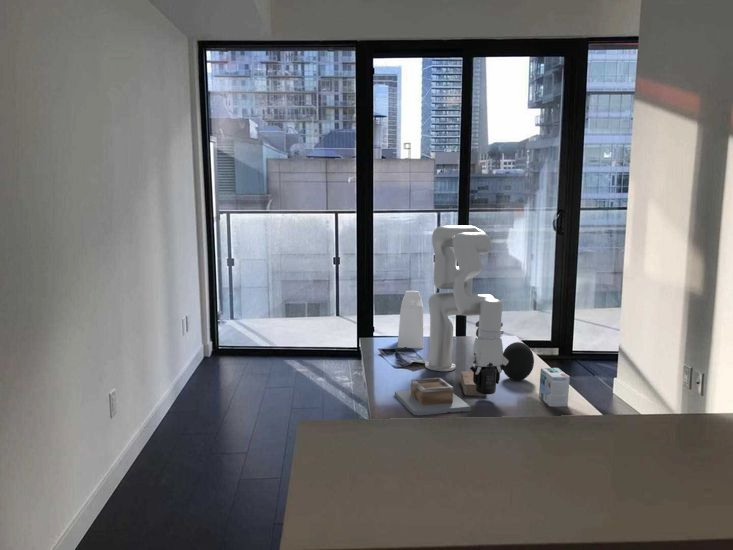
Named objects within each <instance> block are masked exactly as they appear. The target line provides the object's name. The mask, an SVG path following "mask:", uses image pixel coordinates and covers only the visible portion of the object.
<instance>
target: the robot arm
mask: <svg viewBox="0 0 733 550" xmlns="http://www.w3.org/2000/svg"><path fill="white" fill-rule="evenodd" d="M431 236H432V237H431V243H432V248H433V253H434V254H433V255H434V265H433V285H434V287H435V288H436V289H438V290H452V292H451V291H444V292H443V291H441V292H435V293H433V294H431V295H430V296H429V299H428V308H429V309H428V310H429V316H430V317H429V322H430V323H429V350H428V351H429V354H428V361H427V362H425V363H424V366H425V368H426V369H427V370H430V371H434V372H452V371H454V370H455V369H456V364H455V363H453V347H454V346H453V345H454V343H453V341H454V325H453V323H452V321H451V320H450V318H449V316H465V317H467V316H470V317H471V316H478V318H479V319H478V321H479V330H478V337H477V336H475V339H474V342H473V346H472V352H471V357H470V358H469V359H468V360H467V361H466V362H465V365H466V366H467V367H468V368H469V369H470V371H472V372H474V373H473V382H474V383H475V384H476V385H480V374H479V372H480V370H481V368H482V367H487V365H489V363H490V362H491V363H492V364H493V365H492V366H495V367H496V369H497V375H496V385H499V383H500V381H501V379H500V378H501V373H502V372H503V369H504V368H505V366H506V365H507V363H508V362H509V361H508V360H507V359H506V358H505V357H504V356H503V352H504V348H503V347H504V346H503V340H502V336H501V334H502V335H503V334H504V330H503V329H502V327H501V322H502V318H503V317H502V316H503V302H502V301H501V300H500V299H497V298H495V296H493V295H492V294H489V293H483V294H482V293H481V294H478V293H475V294H473V284H474V283H473V282H474V281H473V280H474V279H473V278H474V277H476V276H478V275H479V274H481V272H482V271H483V264H482V260H481V258H480V257H481V256H480V255H487V254H488V253H490V251H491V248H492V242H491V238H490V237H489V235H488V234H487V233H486V232H485V231H483V230H482V229H480V228H478V227H477V226H474V225H440V226H437V227H435V229H434V230H433V232H432V235H431ZM456 262H457V263H456ZM456 264H457V265H456ZM501 329H502V330H501ZM500 337H501V338H500ZM473 364H474V365H473Z"/></svg>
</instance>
